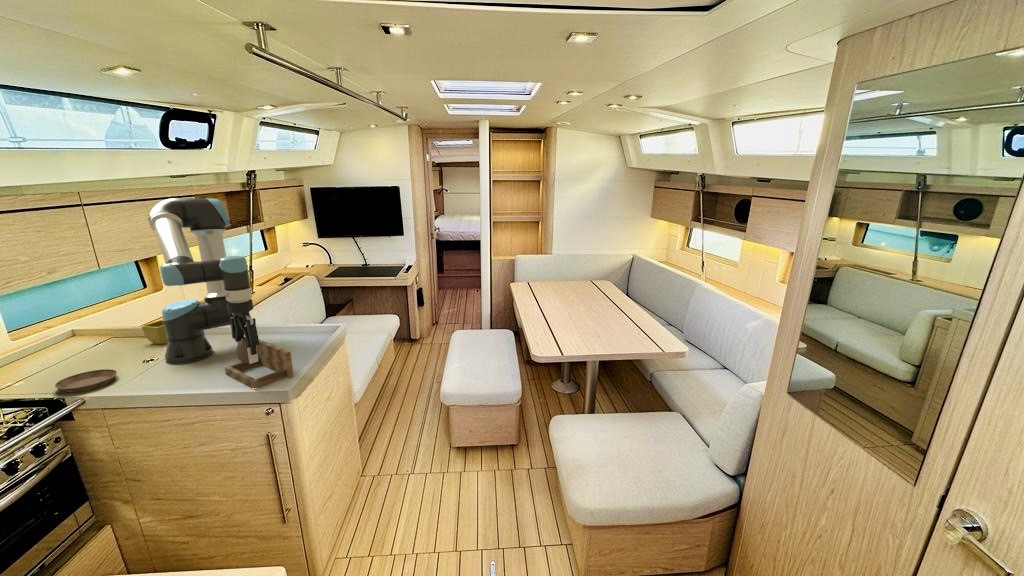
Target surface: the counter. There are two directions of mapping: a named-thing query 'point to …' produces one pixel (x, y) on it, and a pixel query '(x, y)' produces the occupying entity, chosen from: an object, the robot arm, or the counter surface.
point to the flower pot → (155, 332)
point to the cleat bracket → (267, 357)
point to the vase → (243, 351)
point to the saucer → (86, 380)
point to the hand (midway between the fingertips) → (248, 359)
